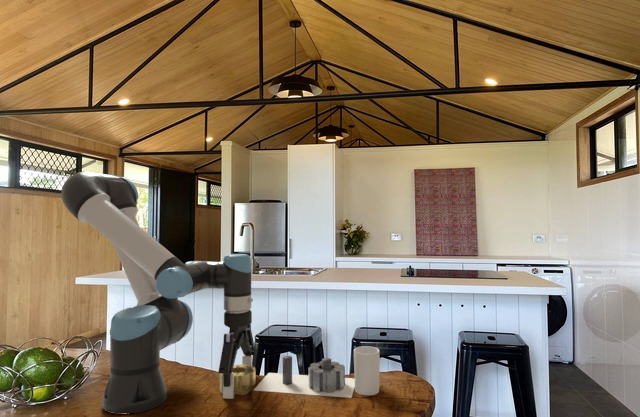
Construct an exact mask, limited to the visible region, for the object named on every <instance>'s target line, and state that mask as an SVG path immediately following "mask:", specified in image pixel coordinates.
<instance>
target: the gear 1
mask: <svg viewBox="0 0 640 417" xmlns="http://www.w3.org/2000/svg"><path fill="white" fill-rule="evenodd" d="M232 372H233V373H234V396H235V395H237V396H238V395H239V396H244V395H249V393H250V392H252V386H254V385H255V384H256V383H257V382H256V378H257V377H256V375H257V374H256V372H257V370H256V367H255V366H254V365H252V366H247V364H242V363H241V364H234V366H233V370H232ZM219 392H220V393H221V394H223V374H219Z"/></svg>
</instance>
